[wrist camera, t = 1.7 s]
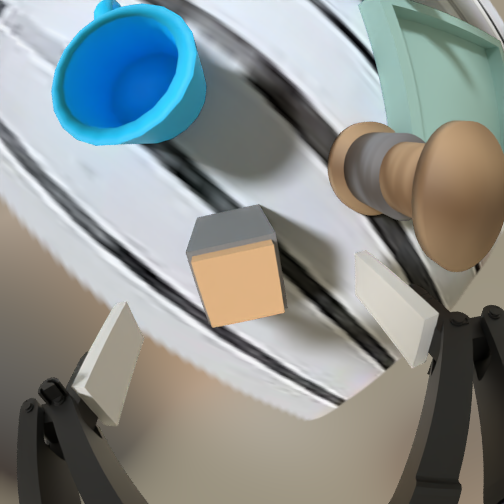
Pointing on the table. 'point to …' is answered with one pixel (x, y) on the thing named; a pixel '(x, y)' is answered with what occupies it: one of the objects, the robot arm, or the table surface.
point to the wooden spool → (426, 185)
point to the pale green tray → (434, 68)
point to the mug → (129, 77)
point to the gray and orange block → (237, 266)
